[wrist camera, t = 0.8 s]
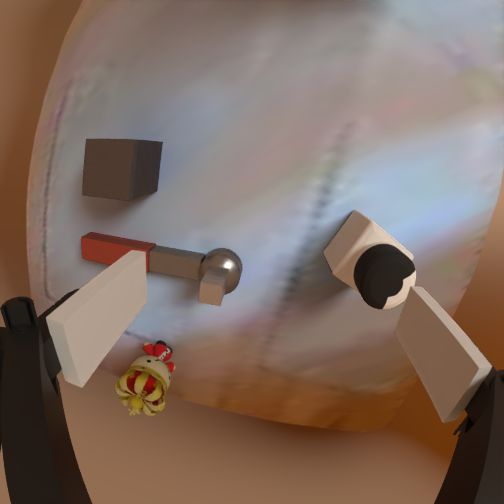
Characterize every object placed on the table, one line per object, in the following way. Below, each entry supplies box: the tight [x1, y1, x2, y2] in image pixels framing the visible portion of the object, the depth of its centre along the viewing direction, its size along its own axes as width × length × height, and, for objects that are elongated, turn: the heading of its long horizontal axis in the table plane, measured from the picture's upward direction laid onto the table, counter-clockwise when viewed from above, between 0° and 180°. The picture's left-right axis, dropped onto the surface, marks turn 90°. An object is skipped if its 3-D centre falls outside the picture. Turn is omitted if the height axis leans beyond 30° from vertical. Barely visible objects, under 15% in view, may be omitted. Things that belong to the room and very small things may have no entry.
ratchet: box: [81, 232, 242, 306], centre depth 34 cm, size 23×5×8 cm, turn 81°
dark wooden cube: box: [82, 139, 163, 201], centre depth 30 cm, size 6×6×8 cm
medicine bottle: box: [323, 210, 416, 309], centre depth 30 cm, size 7×7×12 cm
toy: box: [115, 341, 175, 416], centre depth 36 cm, size 7×7×15 cm
